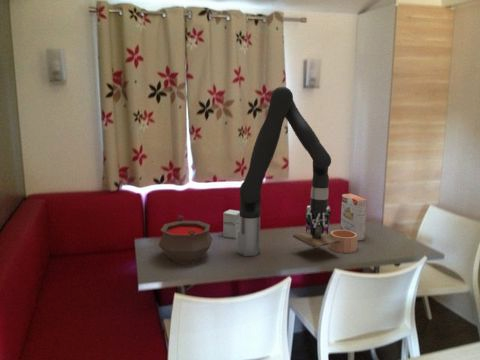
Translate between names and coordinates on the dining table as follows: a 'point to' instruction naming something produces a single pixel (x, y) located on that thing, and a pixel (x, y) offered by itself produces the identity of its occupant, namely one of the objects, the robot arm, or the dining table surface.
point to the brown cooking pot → (185, 240)
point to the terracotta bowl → (344, 241)
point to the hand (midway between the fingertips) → (316, 234)
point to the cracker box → (354, 214)
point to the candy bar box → (326, 227)
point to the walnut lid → (317, 238)
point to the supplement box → (231, 223)
